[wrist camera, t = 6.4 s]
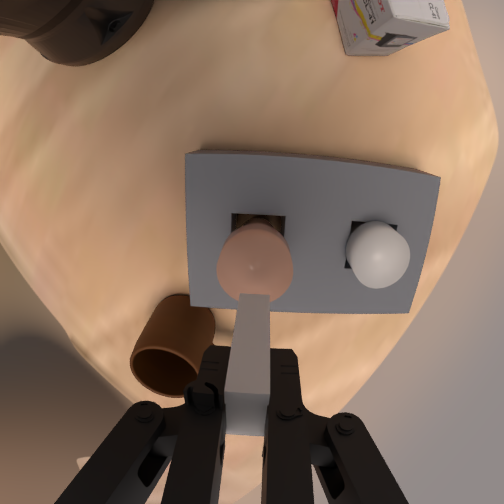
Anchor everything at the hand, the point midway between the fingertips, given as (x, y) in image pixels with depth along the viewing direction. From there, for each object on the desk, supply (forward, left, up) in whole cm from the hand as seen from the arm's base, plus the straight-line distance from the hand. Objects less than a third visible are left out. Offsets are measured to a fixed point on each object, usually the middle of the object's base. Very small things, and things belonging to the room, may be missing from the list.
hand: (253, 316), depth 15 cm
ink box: (-22, +9, -16) cm, 29 cm away
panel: (0, +5, -16) cm, 16 cm away
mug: (+13, -6, -16) cm, 21 cm away
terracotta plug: (0, 0, -12) cm, 12 cm away
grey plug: (0, +10, -15) cm, 18 cm away
